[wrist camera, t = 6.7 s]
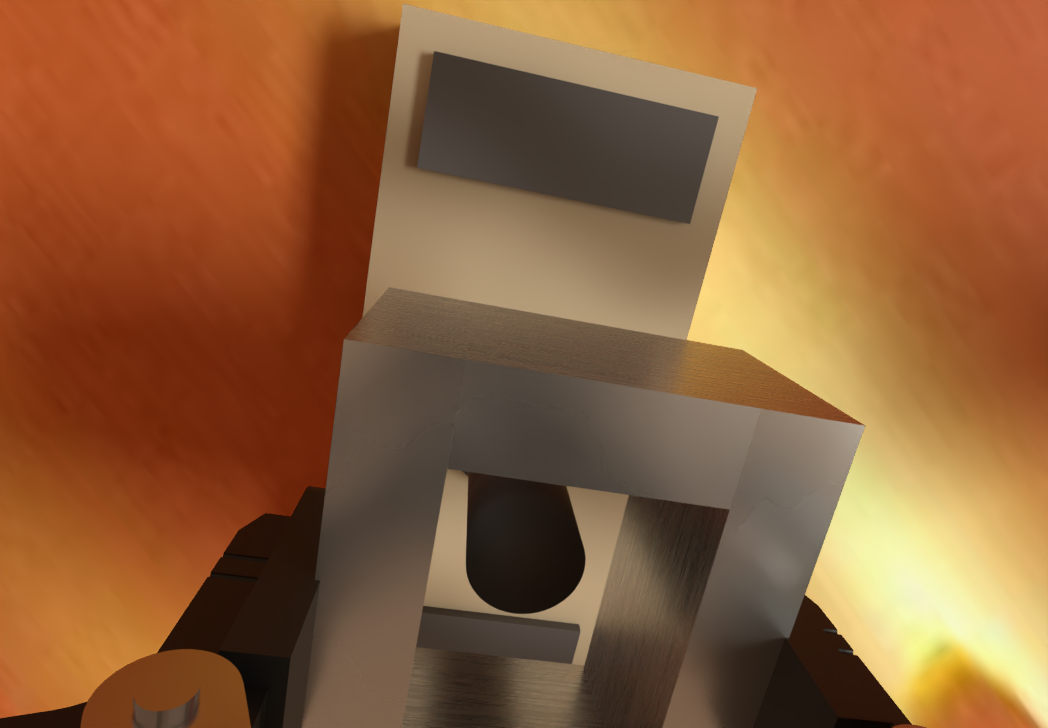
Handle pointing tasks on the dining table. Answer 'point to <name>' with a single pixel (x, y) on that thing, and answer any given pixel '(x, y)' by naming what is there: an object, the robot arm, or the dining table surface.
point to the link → (577, 461)
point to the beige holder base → (542, 274)
